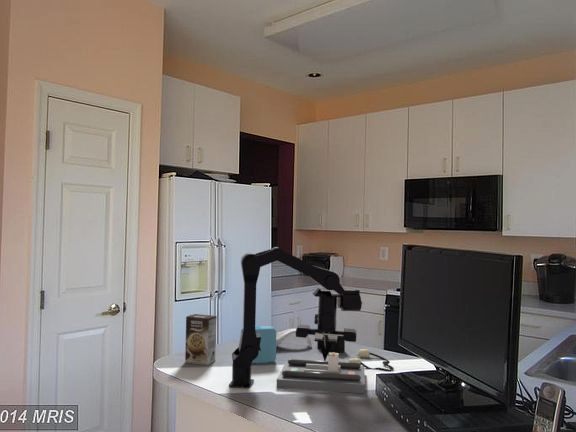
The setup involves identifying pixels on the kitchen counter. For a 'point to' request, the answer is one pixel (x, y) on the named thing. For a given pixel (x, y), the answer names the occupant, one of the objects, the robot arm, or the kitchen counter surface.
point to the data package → (266, 344)
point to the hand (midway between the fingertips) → (325, 360)
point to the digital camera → (335, 345)
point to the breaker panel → (322, 381)
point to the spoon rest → (283, 334)
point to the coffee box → (200, 339)
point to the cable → (365, 354)
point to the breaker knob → (333, 361)
